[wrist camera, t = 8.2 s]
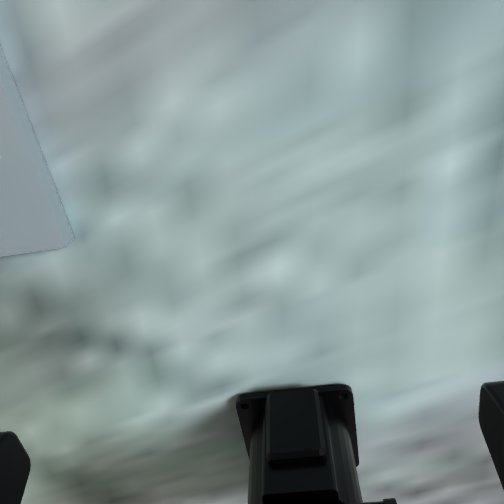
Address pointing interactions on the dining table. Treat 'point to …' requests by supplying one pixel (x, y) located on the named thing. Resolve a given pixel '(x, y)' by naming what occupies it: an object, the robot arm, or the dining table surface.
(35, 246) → the mat
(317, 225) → the dining table surface
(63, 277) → the dining table surface
